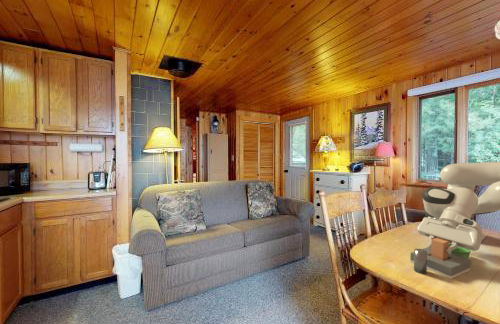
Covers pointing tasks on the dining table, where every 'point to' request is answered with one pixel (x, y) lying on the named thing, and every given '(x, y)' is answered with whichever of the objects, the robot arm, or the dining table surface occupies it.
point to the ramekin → (461, 252)
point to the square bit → (439, 249)
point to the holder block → (446, 264)
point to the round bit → (420, 261)
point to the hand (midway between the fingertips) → (438, 249)
